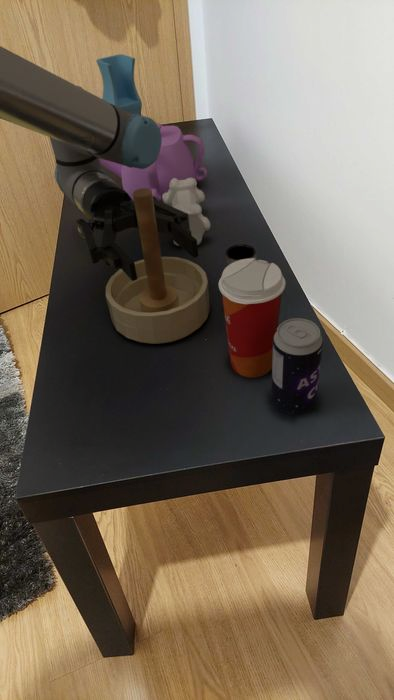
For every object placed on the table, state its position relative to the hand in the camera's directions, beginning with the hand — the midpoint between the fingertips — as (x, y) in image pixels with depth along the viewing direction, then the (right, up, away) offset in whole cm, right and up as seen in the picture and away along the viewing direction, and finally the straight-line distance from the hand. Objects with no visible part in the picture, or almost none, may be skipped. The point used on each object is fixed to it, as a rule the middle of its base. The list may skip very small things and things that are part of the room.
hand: (165, 260), depth 71 cm
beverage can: (+17, -19, -4) cm, 26 cm away
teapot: (-6, +24, +46) cm, 52 cm away
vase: (-15, +46, +72) cm, 87 cm away
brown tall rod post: (-1, -6, +11) cm, 13 cm away
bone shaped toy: (+2, +11, +32) cm, 34 cm away
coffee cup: (+12, -14, +2) cm, 19 cm away
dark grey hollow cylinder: (+12, -6, +11) cm, 17 cm away
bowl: (-1, -7, +11) cm, 13 cm away
